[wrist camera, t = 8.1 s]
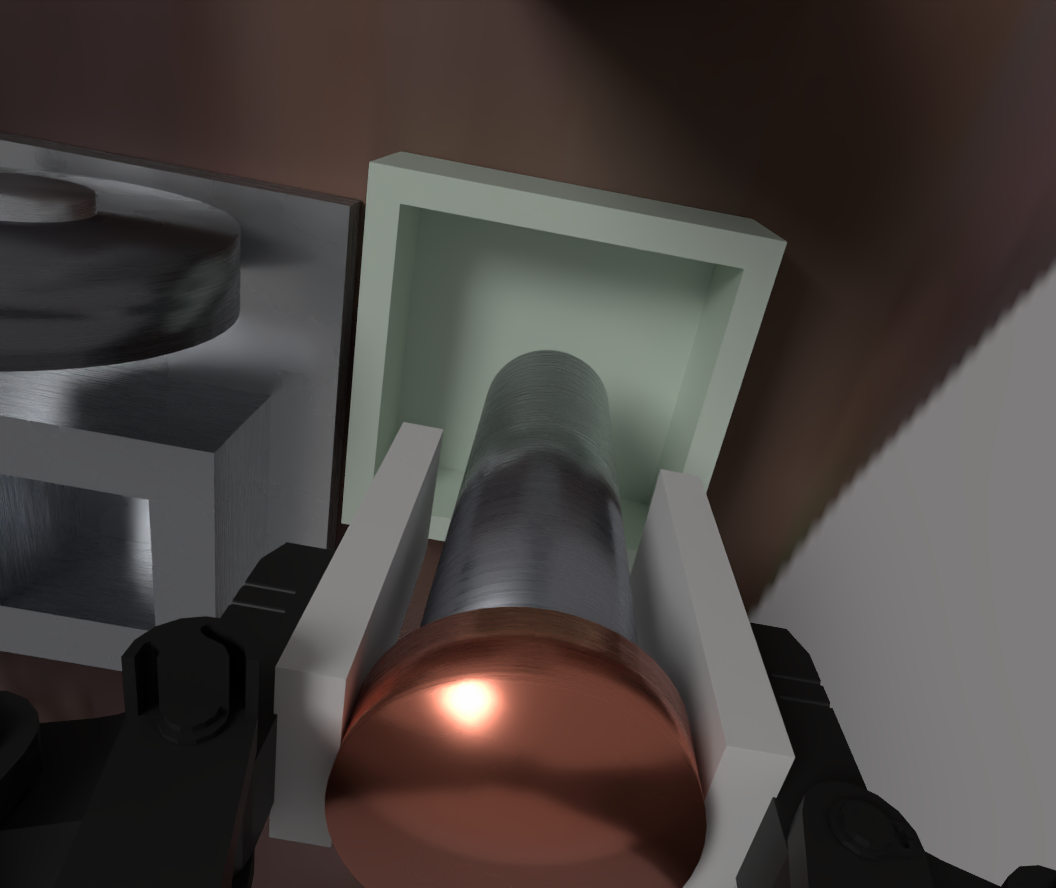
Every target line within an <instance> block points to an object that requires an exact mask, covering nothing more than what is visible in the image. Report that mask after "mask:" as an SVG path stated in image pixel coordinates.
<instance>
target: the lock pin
mask: <svg viewBox="0 0 1056 888" xmlns="http://www.w3.org/2000/svg"><path fill="white" fill-rule="evenodd" d="M325 817H326V822H327V828H328V832H329V834H330V837H331V840H332V842H333V845H334V848H335V849H336V851H337V853H338V854H339V856H340V858H341V860H342V861H343V863H344V864H345V866H346V867H347V868H348V870H349V871H350V872H351V873H352V875H353V876H354V877H355V878H356V879H357V880H358V881H359V882H360V883H361V884H362V885H363V886H364V887H365V888H683V886H684V885H685V884H686V883H687V881H688V880H689V879H690V877H691V876H692V874H693V872H694V870H695V868H696V866H697V865H698V863H699V861H700V858H701V854H702V851H703V848H704V845H705V838H706V829H707V823H706V810H705V804H704V799H703V793H702V788H701V783H700V778H699V772H698V767H697V762H696V756H695V751H694V746H693V740H692V735H691V730H690V724H689V720H688V716H687V713H686V709H685V706H684V703H683V701H682V699H681V697H680V695H679V692H678V690H677V689H676V687H675V686H674V684H673V683H672V681H671V680H670V678H669V677H668V675H667V674H666V673H665V671H664V670H663V669H662V668H661V667H660V666H659V665H658V664H657V663H656V661H655V660H654V659H653V658H652V657H650V656H649V655H648V654H647V653H646V652H644V651H643V650H642V649H641V648H640V647H638V641H637V633H636V625H635V616H634V608H633V600H632V592H631V583H630V575H629V567H628V558H627V550H626V542H625V534H624V525H623V517H622V509H621V501H620V492H619V484H618V476H617V468H616V459H615V451H614V443H613V434H612V426H611V418H610V410H609V401H608V396H607V392H606V389H605V387H604V384H603V382H602V381H601V379H600V377H599V376H598V374H597V373H596V372H595V371H594V370H593V369H592V368H591V367H590V366H589V365H588V364H587V363H585V362H584V361H583V360H581V359H579V358H577V357H575V356H573V355H571V354H568V353H565V352H561V351H555V350H539V351H532V352H529V353H525V354H523V355H520V356H518V357H516V358H515V359H513V360H511V361H510V362H508V363H507V364H506V365H505V366H504V367H503V368H502V369H501V370H500V371H499V372H498V373H497V374H496V376H495V377H494V379H493V381H492V383H491V385H490V387H489V390H488V393H487V397H486V400H485V403H484V407H483V410H482V414H481V417H480V421H479V424H478V428H477V431H476V435H475V438H474V442H473V445H472V449H471V452H470V456H469V459H468V462H467V466H466V469H465V473H464V476H463V480H462V483H461V487H460V490H459V494H458V497H457V501H456V504H455V508H454V511H453V515H452V518H451V522H450V525H449V528H448V532H447V535H446V539H445V542H444V546H443V549H442V553H441V556H440V560H439V563H438V567H437V570H436V574H435V577H434V581H433V584H432V588H431V591H430V594H429V598H428V601H427V605H426V608H425V612H424V615H423V619H422V622H421V626H420V628H418V629H416V630H415V631H413V632H412V633H410V634H408V635H407V636H405V637H404V638H402V639H401V640H399V641H398V642H397V643H396V644H394V645H393V646H392V647H391V648H390V649H389V650H387V651H386V652H385V653H384V654H383V655H382V656H381V658H380V659H379V660H378V661H377V662H376V664H375V665H374V666H373V667H372V669H371V670H370V672H369V674H368V675H367V677H366V679H365V680H364V682H363V684H362V687H361V689H360V692H359V695H358V698H357V701H356V703H355V706H354V709H353V712H352V715H351V717H350V720H349V723H348V726H347V728H346V731H345V734H344V737H343V740H342V742H341V745H340V748H339V750H338V753H337V756H336V758H335V761H334V764H333V767H332V770H331V772H330V775H329V778H328V781H327V787H326V792H325Z"/></svg>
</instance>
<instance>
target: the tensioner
mask: <svg viewBox="0 0 1056 888" xmlns="http://www.w3.org/2000/svg"><path fill="white" fill-rule="evenodd" d="M360 207H361V200H356V199H351V198H346V197H341V196H335V195H330V194H325V193H319V192H314V191H309V190H304V189H298V188H293V187H288V186H283V185H277V184H272V183H267V182H261V181H256V180H251V179H246V178H240V177H235V176H230V175H225V174H219V173H214V172H209V171H203V170H198V169H193V168H188V167H182V166H177V165H172V164H167V163H161V162H156V161H151V160H145V159H140V158H135V157H130V156H124V155H119V154H114V153H109V152H103V151H98V150H93V149H87V148H82V147H77V146H72V145H66V144H61V143H56V142H51V141H45V140H40V139H35V138H30V137H24V136H19V135H14V134H8V133H3V132H0V651H5V652H11V653H17V654H23V655H28V656H34V657H40V658H46V659H52V660H58V661H64V662H70V663H76V664H82V665H88V666H94V667H100V668H106V669H112V670H118V671H122V662H121V656H122V655H123V654H124V652H125V651H126V650H127V649H128V647H129V646H130V645H131V644H132V642H133V641H134V640H135V639H136V638H138V637H140V636H141V635H143V634H144V633H146V632H147V631H149V630H151V629H152V628H154V627H155V626H158V625H161V624H164V623H168V622H171V621H174V620H177V619H180V618H190V617H202V616H208V617H214V618H221V616H222V615H223V613H224V612H225V610H226V609H227V607H228V606H229V605H231V604H232V600H233V599H234V597H235V596H236V594H237V593H238V591H239V590H240V588H241V587H242V586H244V585H245V581H246V579H247V578H248V576H249V575H250V573H251V572H252V571H253V569H254V568H255V566H256V565H257V563H258V562H259V560H260V559H261V558H263V557H264V556H266V555H267V554H269V553H271V552H272V551H274V550H275V549H277V548H278V547H280V546H282V545H283V544H285V543H286V542H289V543H295V544H300V545H306V546H311V547H317V548H323V549H328V550H334V551H335V541H336V528H337V514H338V501H339V488H340V474H341V461H342V448H343V434H344V421H345V407H346V394H347V381H348V367H349V354H350V341H351V327H352V314H353V301H354V287H355V274H356V260H357V247H358V234H359V220H360Z"/></svg>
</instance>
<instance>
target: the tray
mask: <svg viewBox="0 0 1056 888" xmlns="http://www.w3.org/2000/svg"><path fill="white" fill-rule="evenodd" d="M786 244H787V241H785V240H784V239H782V238H781V237H779V236H778V235H776V234H775V233H773V232H772V231H770V230H769V229H767V228H765V227H764V226H762V225H761V224H759V223H758V222H756V221H755V220H753V219H750V218H745V217H739V216H734V215H729V214H724V213H719V212H713V211H708V210H703V209H698V208H693V207H687V206H682V205H677V204H672V203H667V202H661V201H656V200H651V199H646V198H641V197H635V196H630V195H625V194H620V193H615V192H609V191H604V190H599V189H594V188H589V187H583V186H578V185H573V184H568V183H562V182H557V181H552V180H547V179H542V178H536V177H531V176H526V175H521V174H516V173H510V172H505V171H500V170H495V169H490V168H484V167H479V166H474V165H469V164H464V163H458V162H453V161H448V160H443V159H438V158H432V157H427V156H422V155H417V154H412V153H406V152H398V153H395V154H392V155H389V156H386V157H383V158H380V159H377V160H374V161H371V162H369V174H368V187H367V199H366V212H365V225H364V238H363V251H362V264H361V277H360V289H359V302H358V315H357V328H356V341H355V354H354V366H353V379H352V392H351V405H350V418H349V431H348V443H347V456H346V469H345V482H344V495H343V508H342V520H341V523H343V524H348V525H350V523H351V521H352V519H353V517H354V516H355V514H356V512H357V510H358V508H359V506H360V504H361V502H362V500H363V498H364V496H365V494H366V493H367V491H368V489H369V487H370V485H371V483H372V481H373V479H374V477H375V475H376V473H377V472H378V470H379V468H380V466H381V464H382V462H383V460H384V458H385V456H386V454H387V452H388V451H389V449H390V447H391V445H392V443H393V441H394V439H395V437H396V435H397V433H398V431H399V429H400V428H401V426H402V424H403V422H407V423H412V424H418V425H423V426H428V427H434V428H439V429H443V436H442V444H441V451H440V458H439V465H438V472H437V479H436V487H435V494H434V501H433V508H432V515H431V522H430V529H429V537H428V539H434V540H439V541H445V539H446V535H447V532H448V528H449V525H450V522H451V518H452V515H453V511H454V508H455V504H456V501H457V497H458V494H459V490H460V487H461V483H462V480H463V476H464V473H465V469H466V466H467V462H468V459H469V456H470V452H471V449H472V445H473V442H474V438H475V435H476V431H477V428H478V424H479V421H480V417H481V414H482V410H483V407H484V403H485V400H486V397H487V393H488V390H489V387H490V385H491V383H492V381H493V379H494V377H495V376H496V374H497V373H498V372H499V371H500V370H501V369H502V368H503V367H504V366H505V365H506V364H507V363H508V362H510V361H511V360H513V359H515V358H516V357H518V356H520V355H523V354H525V353H529V352H532V351H539V350H555V351H561V352H565V353H568V354H571V355H573V356H575V357H577V358H579V359H581V360H583V361H584V362H585V363H587V364H588V365H589V366H590V367H591V368H592V369H593V370H594V371H595V372H596V373H597V374H598V376H599V377H600V379H601V381H602V382H603V384H604V387H605V389H606V392H607V396H608V401H609V410H610V418H611V426H612V434H613V443H614V451H615V459H616V468H617V476H618V484H619V492H620V501H621V509H622V517H623V525H624V534H625V542H626V550H627V558H628V567H629V574H631V571H632V567H633V564H634V560H635V557H636V553H637V550H638V546H639V543H640V540H641V536H642V533H643V529H644V526H645V522H646V519H647V515H648V512H649V508H650V505H651V501H652V498H653V494H654V491H655V487H656V484H657V480H658V477H659V473H660V470H661V469H663V470H668V471H674V472H679V473H685V474H690V475H696V476H700V478H701V481H702V484H703V487H704V490H705V492H707V489H708V486H709V483H710V480H711V477H712V473H713V470H714V467H715V464H716V461H717V458H718V455H719V452H720V449H721V446H722V442H723V439H724V436H725V433H726V430H727V427H728V424H729V421H730V418H731V415H732V411H733V408H734V405H735V402H736V399H737V396H738V393H739V390H740V387H741V384H742V380H743V377H744V374H745V371H746V368H747V365H748V362H749V359H750V356H751V353H752V350H753V346H754V343H755V340H756V337H757V334H758V331H759V328H760V325H761V322H762V319H763V315H764V312H765V309H766V306H767V303H768V300H769V297H770V294H771V291H772V288H773V284H774V281H775V278H776V275H777V272H778V269H779V266H780V263H781V260H782V257H783V253H784V250H785V247H786Z"/></svg>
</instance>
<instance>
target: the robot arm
mask: <svg viewBox="0 0 1056 888" xmlns="http://www.w3.org/2000/svg"><path fill="white" fill-rule="evenodd" d="M442 436H443V429H439V428H434V427H428V426H423V425H418V424H412V423H407V422H403V424H402V426H401V428H400V429H399V431H398V433H397V435H396V437H395V439H394V441H393V443H392V445H391V447H390V449H389V451H388V452H387V454H386V456H385V458H384V460H383V462H382V464H381V466H380V468H379V470H378V472H377V473H376V475H375V477H374V479H373V481H372V483H371V485H370V487H369V489H368V491H367V493H366V494H365V496H364V498H363V500H362V502H361V504H360V506H359V508H358V510H357V512H356V514H355V516H354V517H353V519H352V521H351V523H350V525H349V527H348V529H347V531H346V533H345V535H344V537H343V538H342V540H341V542H340V544H339V546H338V548H337V550H336V551H334V550H328V549H323V548H317V547H311V546H306V545H300V544H295V543H289V542H286V543H285V544H283V545H282V546H280V547H278V548H277V549H275V550H274V551H272V552H271V553H269V554H267V555H266V556H264V557H263V558H261V559H260V560H259V562H258V563H257V565H256V566H255V568H254V569H253V571H252V572H251V573H250V575H249V576H248V578H247V579H246V581H245V585H244V586H242V587H241V588H240V590H239V591H238V593H237V594H236V596H235V597H234V599H233V600H232V604H231V605H229V606H228V607H227V609H226V610H225V612H224V613H223V615H222V616H221V618H214V617H208V616H202V617H190V618H180V619H177V620H174V621H171V622H168V623H164V624H161V625H158V626H155V627H154V628H152V629H151V630H149V631H147V632H146V633H144V634H143V635H141V636H140V637H138V638H136V639H135V640H134V641H133V642H132V644H131V645H130V646H129V647H128V649H127V650H126V651H125V652H124V654H123V655H122V656H121V662H122V675H123V688H124V700H125V712H124V713H121V714H118V715H113V716H107V717H101V718H94V719H82V720H71V721H60V722H48V723H39V717H38V713H37V711H36V710H35V709H34V707H33V706H32V705H31V703H30V702H29V701H28V699H26V698H23V697H21V696H18V695H16V694H13V693H11V692H8V691H0V888H251V886H252V881H253V875H254V849H255V846H256V843H257V841H258V839H259V836H260V834H261V832H262V829H263V827H264V825H265V822H266V820H267V817H268V815H269V813H270V825H269V837H271V838H277V839H283V840H289V841H295V842H301V843H307V844H313V845H319V846H325V847H331V845H332V840H331V837H330V834H329V832H328V828H327V822H326V817H325V792H326V787H327V781H328V778H329V775H330V772H331V770H332V767H333V764H334V761H335V758H336V756H337V753H338V750H339V748H340V745H341V742H342V740H343V737H344V734H345V731H346V728H347V726H348V723H349V720H350V717H351V715H352V712H353V709H354V706H355V703H356V701H357V698H358V695H359V692H360V689H361V687H362V684H363V682H364V680H365V679H366V677H367V675H368V674H369V672H370V670H371V669H372V667H373V666H374V665H375V664H376V662H377V661H378V660H379V659H380V658H381V656H382V655H383V654H384V653H385V652H386V651H387V650H389V649H390V648H391V647H392V646H393V645H394V644H396V643H397V640H398V637H399V634H400V631H401V628H402V625H403V622H404V619H405V615H406V612H407V609H408V606H409V603H410V600H411V597H412V594H413V591H414V588H415V585H416V581H417V578H418V575H419V572H420V569H421V566H422V563H423V560H424V557H425V554H426V550H427V544H428V537H429V529H430V522H431V515H432V508H433V501H434V494H435V487H436V479H437V472H438V465H439V458H440V451H441V444H442ZM630 583H631V592H632V600H633V608H634V616H635V625H636V633H637V641H638V647H640V648H641V649H642V650H643V651H644V652H646V653H647V654H648V655H649V656H650V657H652V658H653V659H654V660H655V661H656V663H657V664H658V665H659V666H660V667H661V668H662V669H663V670H664V671H665V673H666V674H667V675H668V677H669V678H670V680H671V681H672V683H673V684H674V686H675V687H676V689H677V690H678V692H679V695H680V697H681V699H682V701H683V703H684V706H685V709H686V713H687V716H688V720H689V724H690V730H691V735H692V740H693V746H694V751H695V756H696V762H697V767H698V772H699V778H700V783H701V788H702V793H703V799H704V804H705V810H706V823H707V829H706V838H705V845H704V848H703V851H702V854H701V858H700V861H699V863H698V865H697V866H696V868H695V870H694V872H693V874H692V876H691V877H690V879H689V880H688V881H687V883H686V884H685V885H684V886H683V888H735V886H736V884H737V887H738V888H1056V871H1055V870H1052V869H1049V868H1046V867H1042V866H1039V865H1037V866H1020V867H1018V868H1017V869H1016V870H1015V871H1014V872H1013V873H1012V874H1011V875H1009V876H1008V877H1007V879H1006V880H1005V882H1004V883H1003V885H1002V886H1001V887H1000V886H998V885H995V884H993V883H991V882H989V881H987V880H984V879H982V878H980V877H978V876H975V875H973V874H971V873H969V872H966V871H964V870H962V869H959V868H958V867H955V866H953V865H951V864H949V863H946V862H944V861H942V860H940V859H938V858H936V857H934V856H933V855H931V854H929V853H927V852H925V851H924V849H923V847H922V845H921V842H920V840H919V838H918V836H917V833H916V832H915V830H914V829H913V828H912V827H911V826H910V824H909V823H908V822H907V821H906V820H905V818H904V817H903V816H902V815H901V814H900V813H899V811H897V810H896V809H895V808H893V807H892V806H891V805H890V804H888V803H887V802H886V801H884V800H883V799H882V798H881V797H879V796H878V795H876V794H874V793H872V792H869V791H868V790H867V788H866V786H865V783H864V781H863V779H862V776H861V774H860V772H859V769H858V767H857V765H856V762H855V760H854V758H853V755H852V753H851V751H850V748H849V746H848V744H847V741H846V739H845V736H844V734H843V732H842V730H841V727H840V725H839V723H838V720H837V718H836V716H835V713H834V711H833V709H832V708H830V701H829V699H828V697H827V694H826V692H825V690H824V687H823V686H820V681H821V680H820V678H819V676H818V673H817V671H816V669H815V666H814V664H813V662H812V659H811V657H810V655H809V653H808V652H807V651H806V650H805V649H804V648H803V647H802V646H801V644H800V643H799V642H798V641H797V640H796V639H795V638H794V637H793V636H792V635H791V633H790V632H789V631H788V630H787V629H783V628H778V627H772V626H767V625H761V624H755V623H750V622H749V619H748V617H747V614H746V611H745V608H744V605H743V602H742V599H741V596H740V593H739V590H738V587H737V584H736V581H735V578H734V575H733V572H732V569H731V566H730V563H729V560H728V557H727V555H726V552H725V549H724V546H723V543H722V540H721V537H720V534H719V531H718V528H717V525H716V522H715V519H714V516H713V513H712V510H711V507H710V504H709V501H708V498H707V495H706V492H705V490H704V487H703V484H702V481H701V478H700V476H696V475H690V474H685V473H679V472H674V471H668V470H663V469H661V470H660V473H659V477H658V480H657V484H656V487H655V491H654V494H653V498H652V501H651V505H650V508H649V512H648V515H647V519H646V522H645V526H644V529H643V533H642V536H641V540H640V543H639V546H638V550H637V553H636V557H635V560H634V564H633V567H632V571H631V574H630Z"/></svg>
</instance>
